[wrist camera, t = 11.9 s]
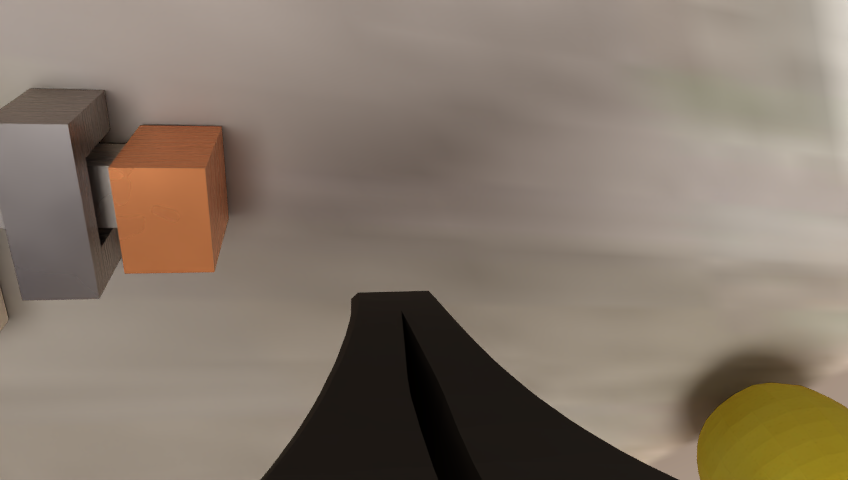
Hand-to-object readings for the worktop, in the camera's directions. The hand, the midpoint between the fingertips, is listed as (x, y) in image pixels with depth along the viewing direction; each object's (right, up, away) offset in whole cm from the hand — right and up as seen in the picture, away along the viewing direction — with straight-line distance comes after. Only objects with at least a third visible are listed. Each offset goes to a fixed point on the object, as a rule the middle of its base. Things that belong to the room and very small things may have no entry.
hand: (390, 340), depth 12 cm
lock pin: (-8, +4, +6) cm, 11 cm away
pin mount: (-8, +3, +6) cm, 11 cm away
